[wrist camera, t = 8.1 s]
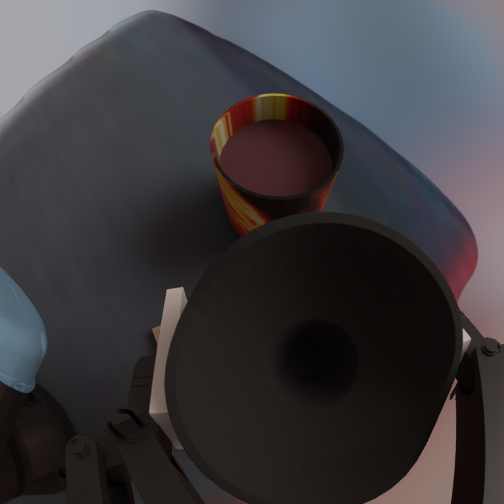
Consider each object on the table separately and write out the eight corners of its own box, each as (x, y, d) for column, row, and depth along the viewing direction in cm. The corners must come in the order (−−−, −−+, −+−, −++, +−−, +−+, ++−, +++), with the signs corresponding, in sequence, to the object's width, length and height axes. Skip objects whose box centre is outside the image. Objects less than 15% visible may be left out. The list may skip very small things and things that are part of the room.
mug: (311, 298, 30) (340, 272, 19) (208, 212, 33) (182, 148, 21) (366, 228, 32) (412, 173, 20) (267, 153, 35) (268, 77, 23)
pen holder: (388, 386, 17) (492, 414, 7) (249, 452, 16) (244, 549, 6) (328, 252, 19) (391, 173, 10) (186, 313, 18) (117, 285, 9)
